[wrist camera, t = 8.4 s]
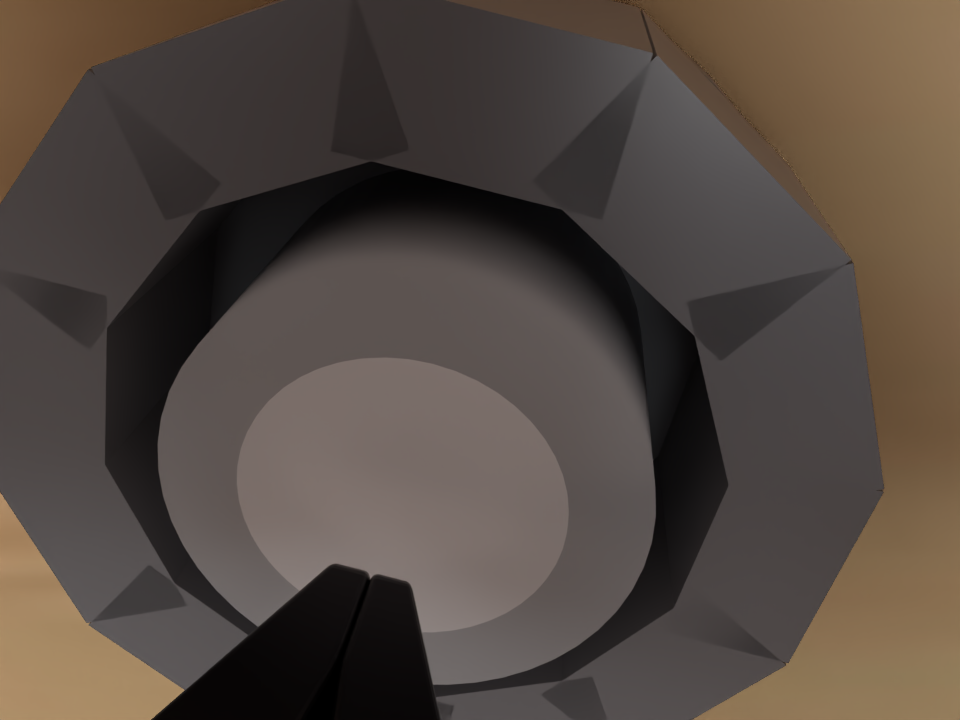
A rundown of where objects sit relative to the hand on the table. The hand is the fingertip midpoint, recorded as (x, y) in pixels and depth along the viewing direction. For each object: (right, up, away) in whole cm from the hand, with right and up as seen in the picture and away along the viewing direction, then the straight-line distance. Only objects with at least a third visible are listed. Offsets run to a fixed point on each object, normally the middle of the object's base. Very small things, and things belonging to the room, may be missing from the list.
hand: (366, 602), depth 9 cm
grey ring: (+1, +3, +6) cm, 7 cm away
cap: (+1, +3, +5) cm, 6 cm away
